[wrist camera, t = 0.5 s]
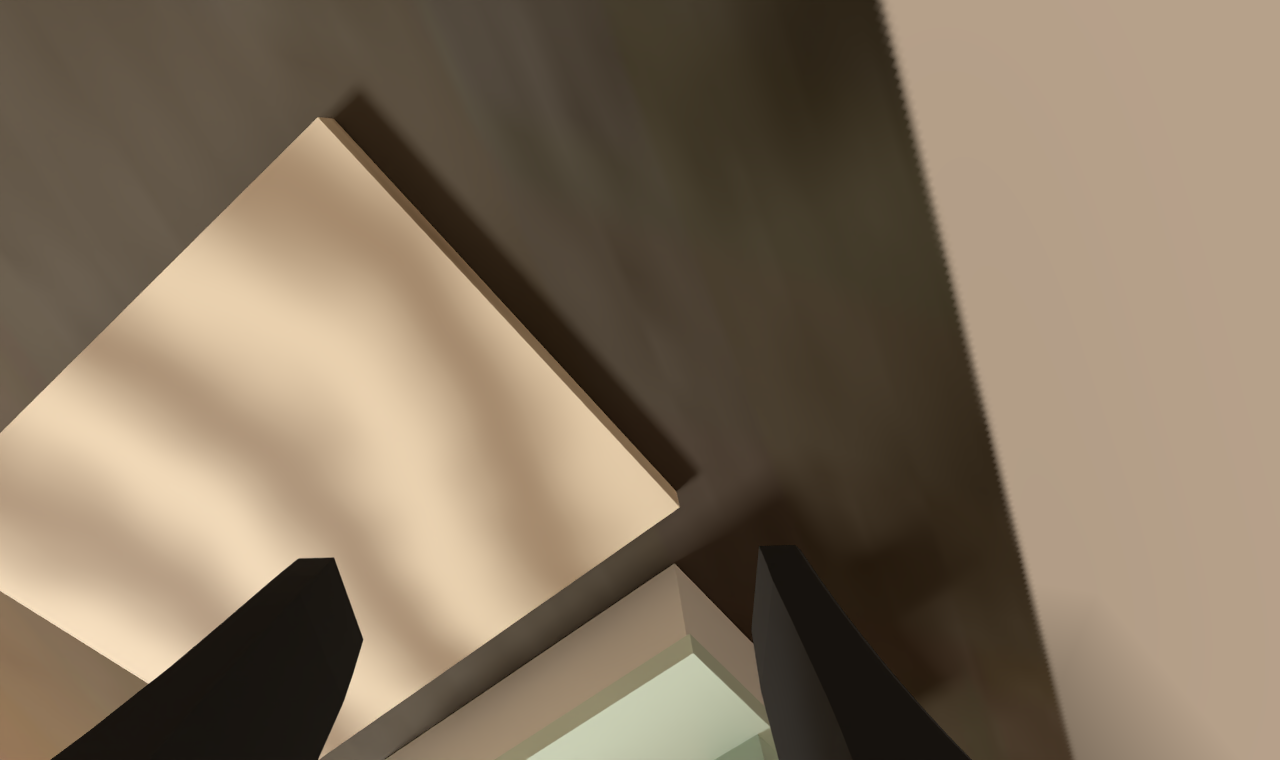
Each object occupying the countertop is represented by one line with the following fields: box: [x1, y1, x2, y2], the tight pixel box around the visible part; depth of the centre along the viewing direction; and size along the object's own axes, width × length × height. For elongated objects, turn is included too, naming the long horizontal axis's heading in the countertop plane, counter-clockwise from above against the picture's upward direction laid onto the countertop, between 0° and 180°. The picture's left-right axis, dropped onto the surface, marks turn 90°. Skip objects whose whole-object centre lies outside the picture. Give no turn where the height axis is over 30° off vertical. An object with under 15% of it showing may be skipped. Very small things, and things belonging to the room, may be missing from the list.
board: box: [0, 117, 680, 760], centre depth 21 cm, size 20×16×1 cm
